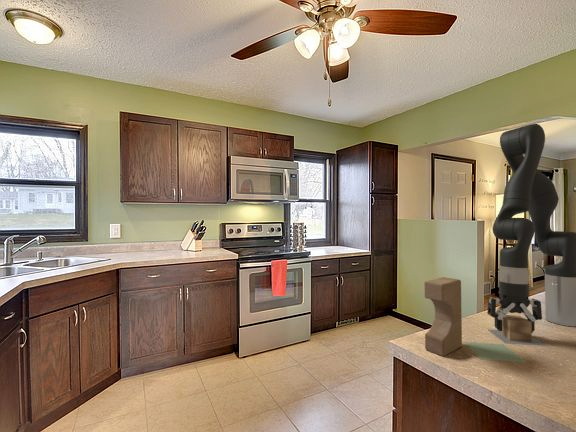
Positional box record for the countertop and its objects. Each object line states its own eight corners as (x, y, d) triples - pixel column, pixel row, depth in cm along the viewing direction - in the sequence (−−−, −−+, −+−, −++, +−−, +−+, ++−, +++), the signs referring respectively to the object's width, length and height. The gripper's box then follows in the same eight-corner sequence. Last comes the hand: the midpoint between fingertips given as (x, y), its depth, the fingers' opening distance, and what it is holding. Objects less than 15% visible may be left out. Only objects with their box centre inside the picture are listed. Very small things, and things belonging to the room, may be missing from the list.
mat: (503, 344, 86) (503, 344, 86) (527, 363, 75) (527, 362, 75) (463, 342, 88) (463, 341, 88) (480, 359, 77) (480, 359, 77)
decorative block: (443, 357, 78) (442, 284, 79) (423, 349, 83) (423, 281, 83) (463, 347, 84) (462, 279, 85) (443, 340, 89) (443, 276, 89)
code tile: (523, 332, 95) (523, 331, 95) (546, 346, 84) (546, 345, 84) (487, 329, 97) (487, 329, 97) (505, 343, 87) (505, 343, 87)
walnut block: (519, 334, 93) (519, 315, 93) (531, 341, 87) (531, 322, 87) (499, 332, 94) (499, 314, 94) (509, 340, 89) (509, 321, 89)
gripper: (531, 279, 94) (531, 328, 93) (483, 277, 96) (483, 325, 96) (547, 284, 86) (548, 337, 86) (495, 282, 89) (495, 334, 89)
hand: (514, 331), depth 91 cm, fingers open, 8 cm apart
